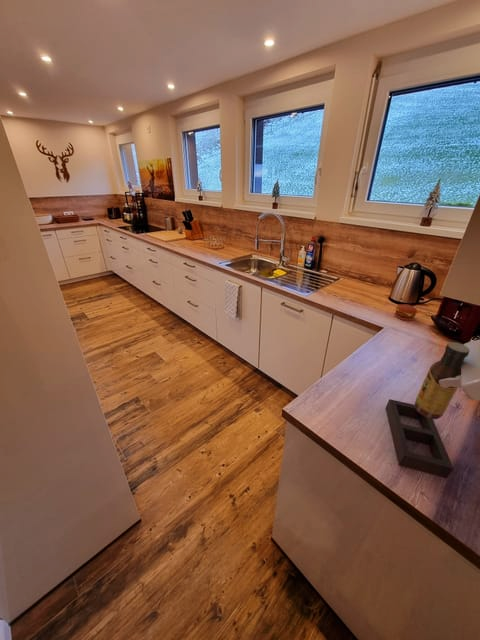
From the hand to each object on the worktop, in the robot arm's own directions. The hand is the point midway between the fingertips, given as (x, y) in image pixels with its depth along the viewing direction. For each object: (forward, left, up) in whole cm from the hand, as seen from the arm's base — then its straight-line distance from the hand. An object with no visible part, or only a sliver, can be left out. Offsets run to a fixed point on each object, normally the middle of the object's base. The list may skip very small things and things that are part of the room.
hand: (441, 374), depth 62 cm
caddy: (-1, 0, -23) cm, 23 cm away
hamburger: (-16, -82, -23) cm, 87 cm away
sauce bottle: (-1, 0, -12) cm, 12 cm away
